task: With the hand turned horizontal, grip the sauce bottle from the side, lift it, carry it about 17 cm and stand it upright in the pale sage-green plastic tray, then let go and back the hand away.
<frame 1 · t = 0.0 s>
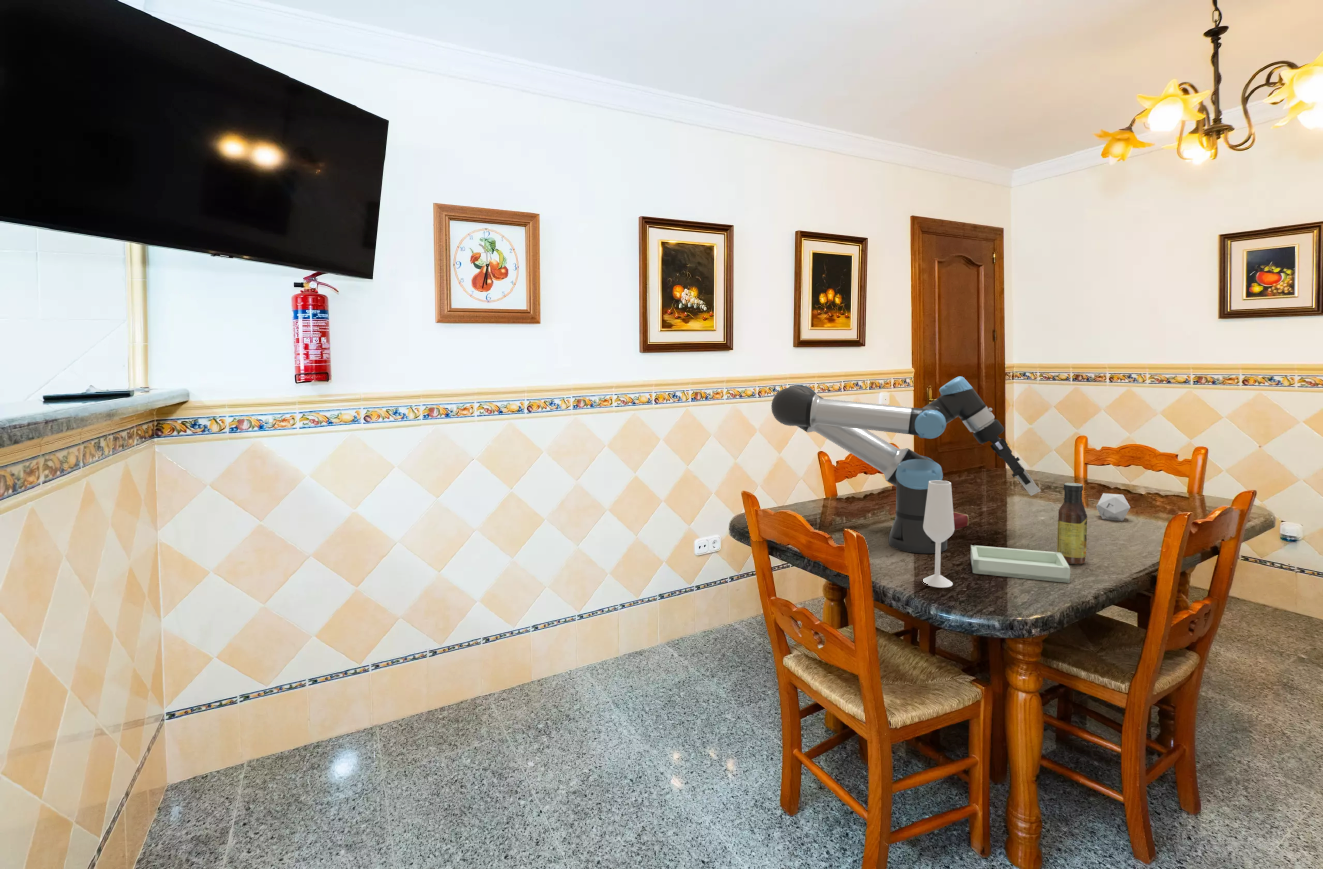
hand: (1032, 488, 173), 15 cm above the table, tool tilted 35°, fingers open, 13 cm apart
champagne flute: (937, 583, 147), on the table
sauce bottle: (1070, 561, 158), on the table
tray: (1017, 569, 153), on the table
die: (1112, 519, 194), on the table
hardcover book: (929, 529, 191), on the table
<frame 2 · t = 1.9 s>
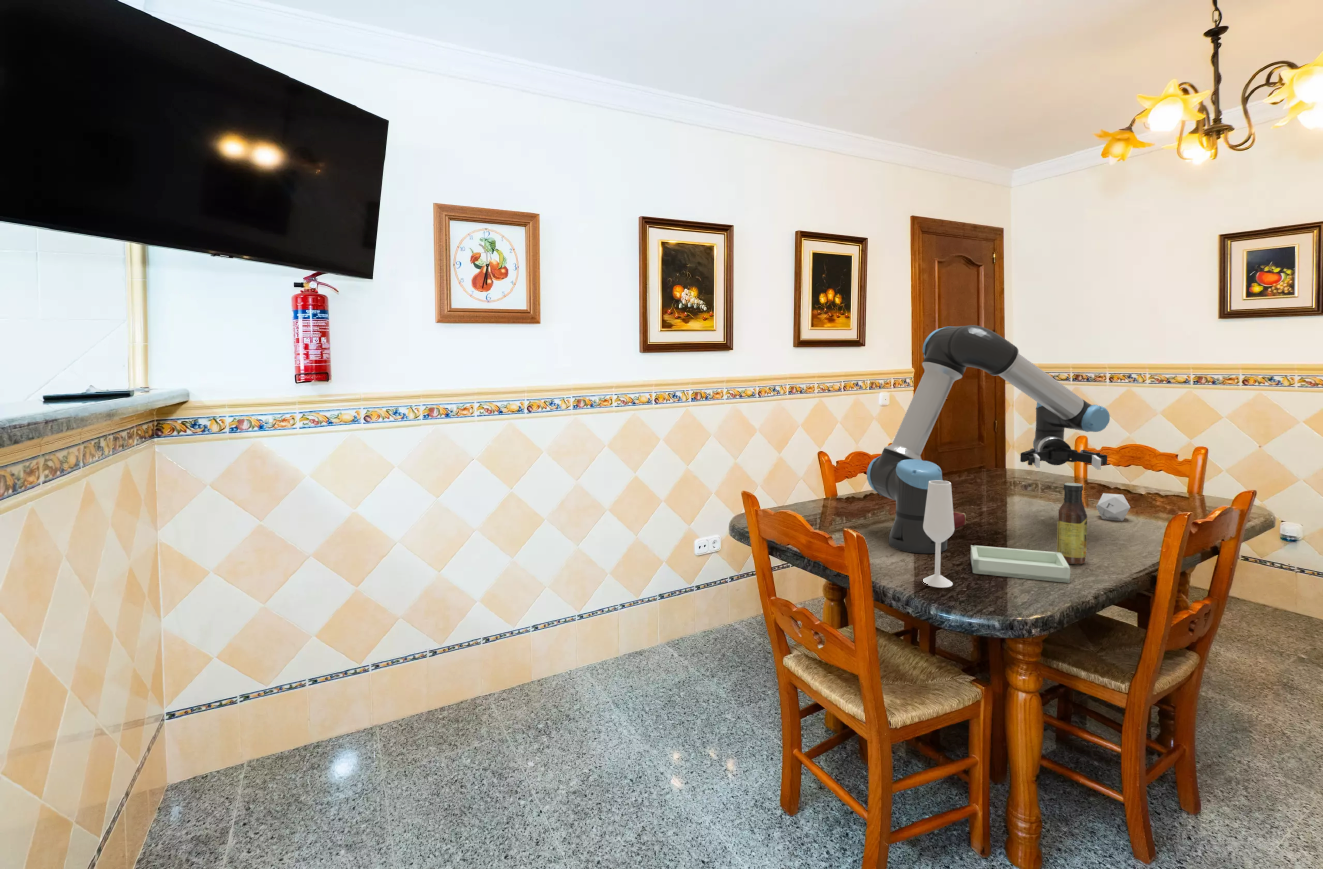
hand: (1068, 463, 164), 23 cm above the table, tool horizontal, fingers open, 13 cm apart
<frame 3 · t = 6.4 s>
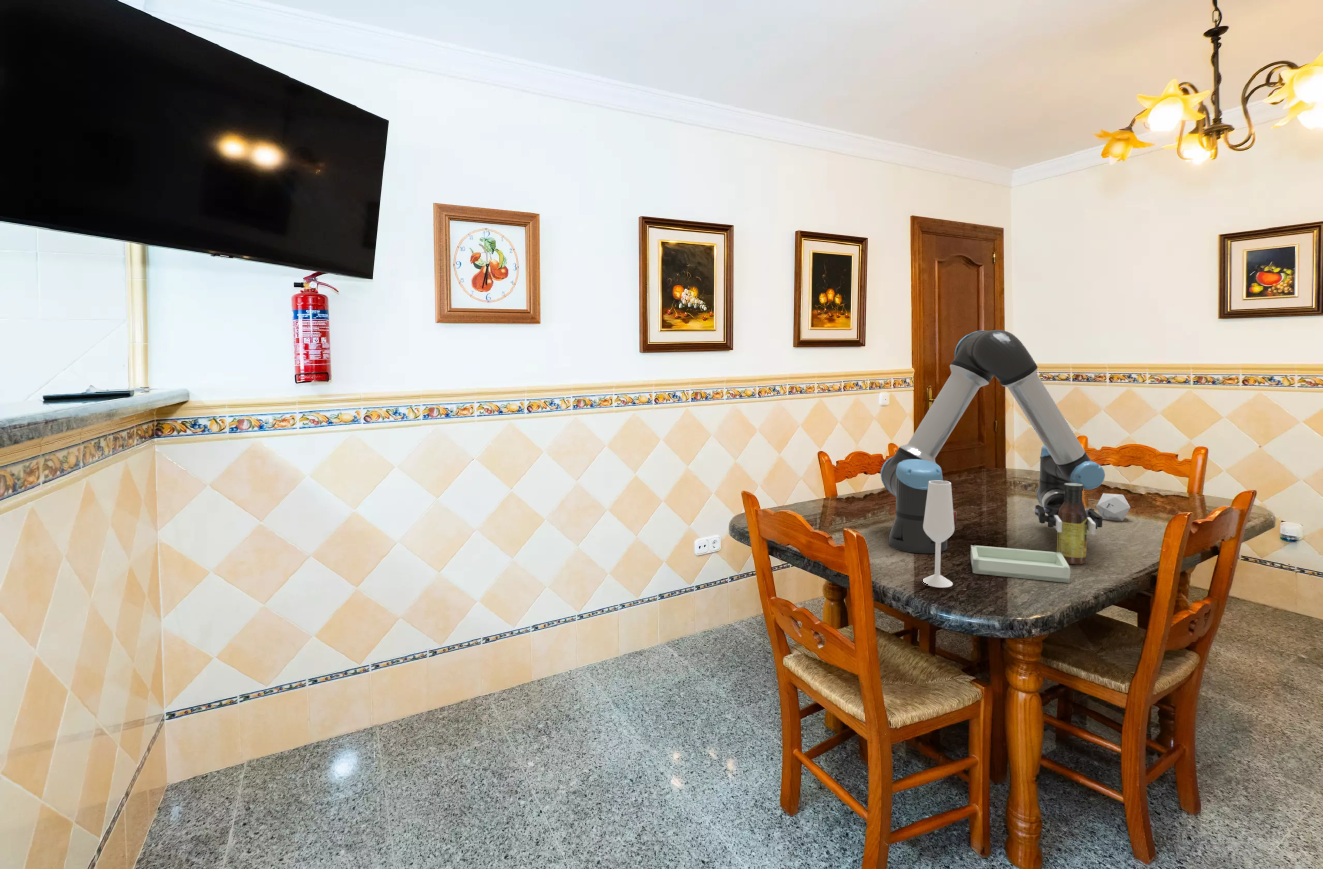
hand: (1076, 528, 152), 10 cm above the table, tool horizontal, fingers closed on sauce bottle, 6 cm apart
sauce bottle: (1070, 561, 158), on the table, touching gripper
when the fingers open (12 cm above the table, at t = 12.5 s): sauce bottle drops 1 cm, resting on tray.
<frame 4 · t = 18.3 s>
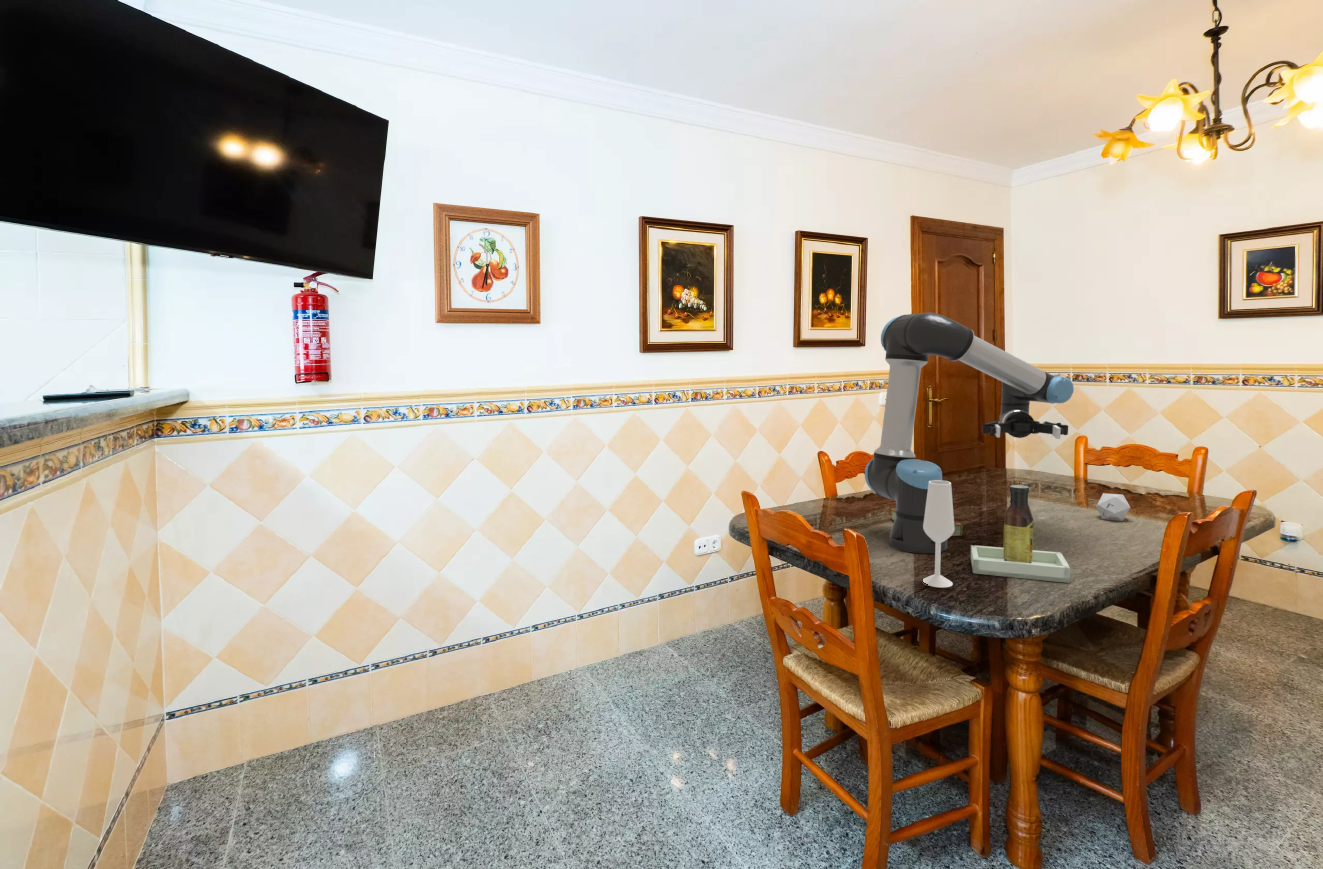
hand: (1028, 432, 162), 32 cm above the table, tool horizontal, fingers open, 13 cm apart
sauce bottle: (1017, 566, 153), point 1 cm above the table, touching tray
hardcover book: (924, 529, 192), on the table
everything else where it was.
at the end: sauce bottle inside the target area on the tray (0.0 cm from its centre), point 0.8 cm above the tray's base; sauce bottle tilted 0°; the gripper is holding nothing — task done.
